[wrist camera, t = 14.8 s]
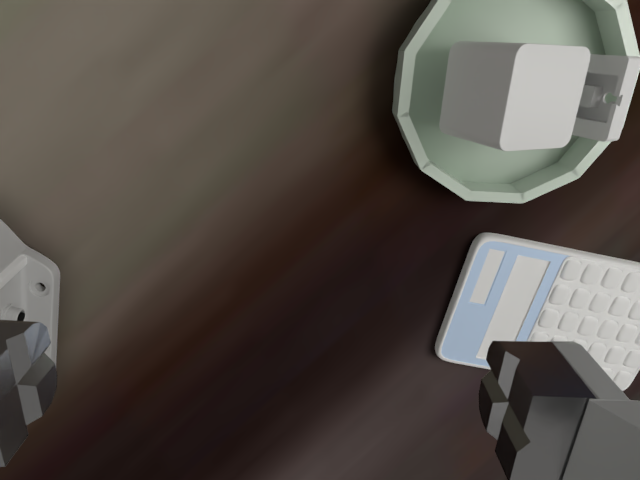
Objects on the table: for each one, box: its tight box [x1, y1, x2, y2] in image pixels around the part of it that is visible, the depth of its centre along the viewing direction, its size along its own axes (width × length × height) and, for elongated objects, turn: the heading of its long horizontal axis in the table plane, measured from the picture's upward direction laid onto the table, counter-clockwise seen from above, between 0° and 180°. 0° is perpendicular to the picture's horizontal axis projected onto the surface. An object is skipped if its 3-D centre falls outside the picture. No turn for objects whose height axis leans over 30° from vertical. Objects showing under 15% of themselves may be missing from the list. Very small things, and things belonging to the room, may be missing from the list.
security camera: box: [439, 41, 640, 151], centre depth 33 cm, size 6×7×10 cm
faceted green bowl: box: [392, 0, 640, 203], centre depth 35 cm, size 17×17×3 cm
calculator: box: [435, 233, 640, 391], centre depth 44 cm, size 13×20×2 cm, turn 78°
